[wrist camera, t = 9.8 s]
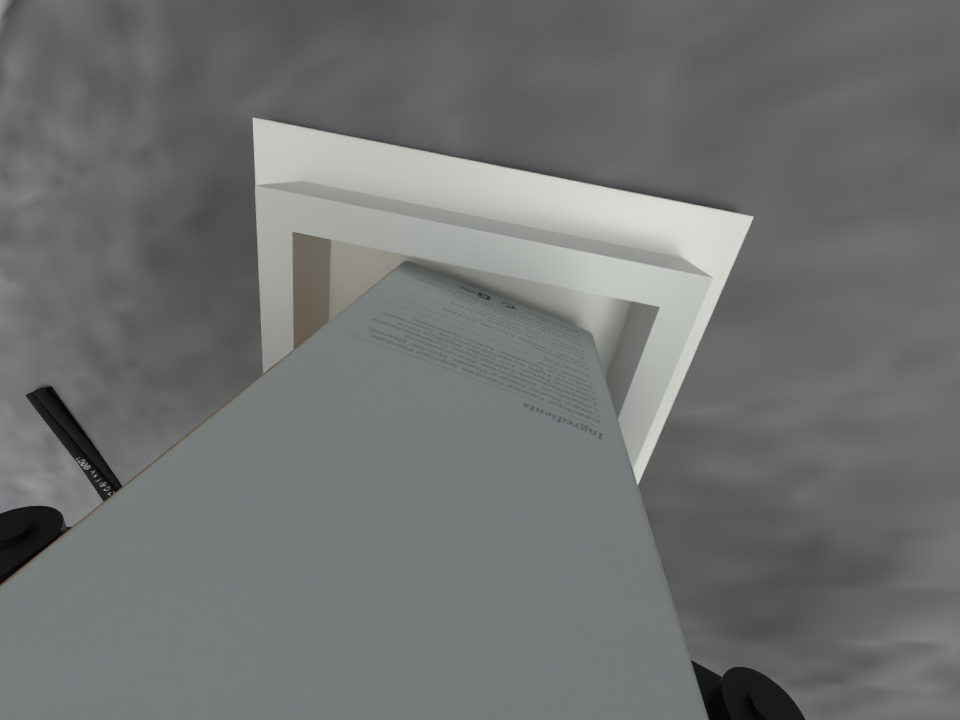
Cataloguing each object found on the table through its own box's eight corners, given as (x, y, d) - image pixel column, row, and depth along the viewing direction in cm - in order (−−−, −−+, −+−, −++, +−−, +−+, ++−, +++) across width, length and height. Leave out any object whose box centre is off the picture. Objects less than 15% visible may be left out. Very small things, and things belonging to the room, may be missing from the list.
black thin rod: (190, 572, 24) (177, 588, 24) (176, 573, 25) (162, 589, 24) (59, 383, 20) (36, 393, 19) (43, 386, 20) (19, 397, 19)
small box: (404, 254, 13) (-618, 994, 2) (596, 329, 14) (991, 1442, 2) (348, 453, 17) (-94, 1145, 5) (502, 509, 17) (427, 1290, 5)
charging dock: (271, 120, 14) (-99, 64, 6) (739, 213, 14) (1047, 293, 5) (281, 513, 21) (124, 732, 13) (585, 581, 21) (618, 851, 13)
